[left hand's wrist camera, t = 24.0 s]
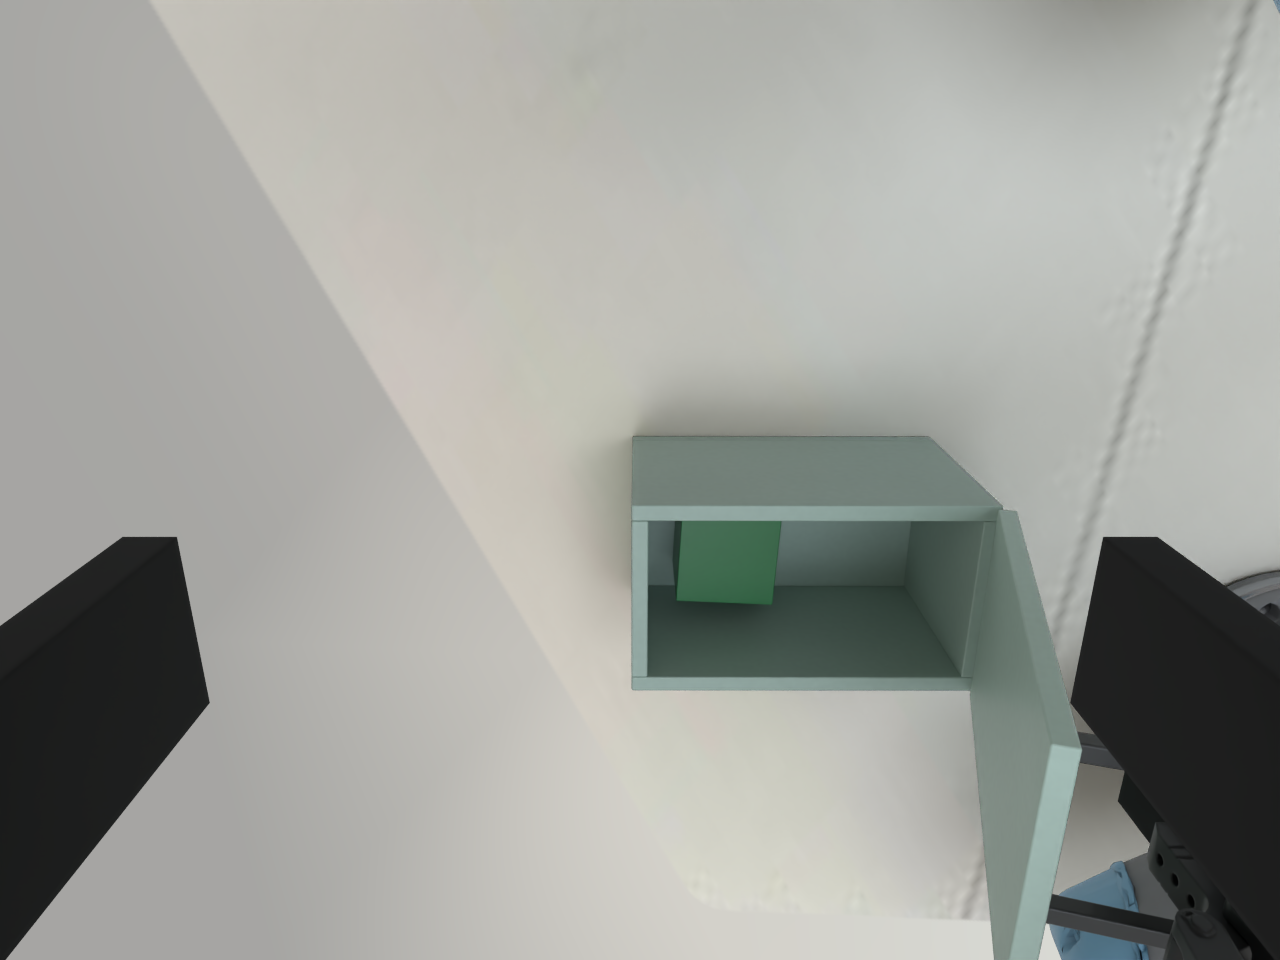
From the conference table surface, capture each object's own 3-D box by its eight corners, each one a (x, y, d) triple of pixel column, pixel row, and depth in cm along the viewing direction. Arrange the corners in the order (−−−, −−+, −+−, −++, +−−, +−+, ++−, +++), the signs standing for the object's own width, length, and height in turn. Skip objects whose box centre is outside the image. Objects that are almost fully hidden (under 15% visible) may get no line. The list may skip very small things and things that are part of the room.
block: (672, 559, 53) (675, 601, 48) (677, 477, 51) (682, 511, 46) (759, 563, 53) (772, 605, 48) (768, 481, 51) (782, 515, 46)
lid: (998, 1012, 28) (1290, 1084, 25) (1050, 744, 24) (1393, 801, 22) (969, 695, 44) (1145, 723, 42) (998, 508, 41) (1191, 528, 38)
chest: (632, 590, 55) (631, 690, 44) (632, 436, 51) (631, 505, 41) (911, 591, 55) (974, 691, 44) (929, 436, 51) (1003, 506, 41)
